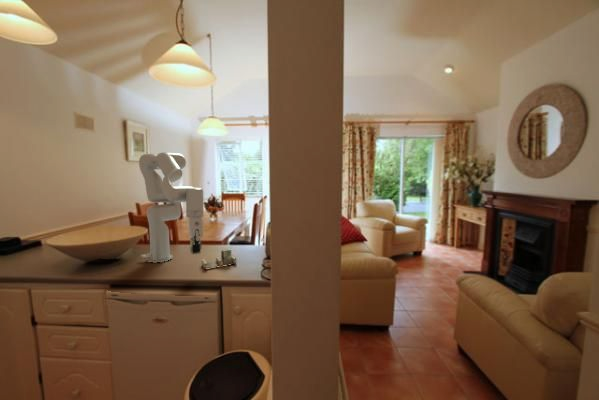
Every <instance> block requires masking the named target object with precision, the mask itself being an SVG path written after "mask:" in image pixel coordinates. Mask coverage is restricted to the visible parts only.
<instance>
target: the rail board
mask: <svg viewBox="0 0 599 400" xmlns="http://www.w3.org/2000/svg"><path fill="white" fill-rule="evenodd" d="M220 253H221V255H220V256H221V257H220V256H216V257H215V261H210V262H208V261H207V260H206V259H205V258H202V259H201V266H202V265H203V266H202V268H203V267H204V268H205V269H206V268H211V267H217V266H223V265H229V264H236V263H237V262H238V261H237V257H235V256H234V254H232V249H231V248H229V247H227V248H221V252H220ZM204 268H203V269H204Z"/></svg>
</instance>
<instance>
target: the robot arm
mask: <svg viewBox="0 0 599 400" xmlns="http://www.w3.org/2000/svg"><path fill="white" fill-rule="evenodd" d="M186 164H187V160H186V158H185V156H184V155H183V154H181V153H179V152H178V153H176V152H166V151H165V152H160V153H158V154H157V153H145V154H142V155H141V156H140V157H139V159H138V165H139V170H140V173H141V174H142V178H143V180H144V184H145V191H146V196H147V197H146V198H147V199H148V201H149V202H150V203H152V204H153V203H154V204H155V203H162V204H155V205H151V206H149V207H148V208H147V209H146V217H147V223H148V228H149V229H148V231H149V247H150V251H149V253H146V254H141V255H140V258H141V259H143V260H144V259H147V262H148V263H150V262H153V263H152V264H157V262H160V263H164V261H165V262H168V260H169V261H171V260H172V259H173V258H174V256H173V255H172V254H171V253H170V229H169V227H168V225H167V224H166V223H165V222H167V221H175V220H178V219H179V218H181V215H182V209H181V203H185V205H186V206H185V209H186V210H185V211H186V212H185V213H186V214H185V216H186V218H188V229H189V230H188V231H189V232H188V233H189V236H190V238H193V253H196V252H200V240H201V238H202V239H203V238H204V230H203V226H204V225H203V217H204V190H203V189H202V188H201V187H195V186H173V185H172V184H173V183H175V182H176V181H179V180H180V179H181V178H182V177H183V170H182V169H184V168H185V167H186ZM156 170H161V173H162V175H163V176H164V177H163V178H162V176H161V175H160V173H158V171H156ZM163 203H164V204H163ZM166 203H167V204H166ZM195 239H196V240H195ZM170 259H171V260H170Z"/></svg>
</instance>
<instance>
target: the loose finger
mask: <svg viewBox="0 0 599 400" xmlns="http://www.w3.org/2000/svg"><path fill="white" fill-rule="evenodd" d="M195 240H196V239H195ZM189 243H190V244H189V245H190V248H189V249H190V251H189V252H190V254H191V255H200V254H201V253H202V252H201V250H202V240H201V239H200V252H196V253H193V238H191V237H190V238H189Z"/></svg>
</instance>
